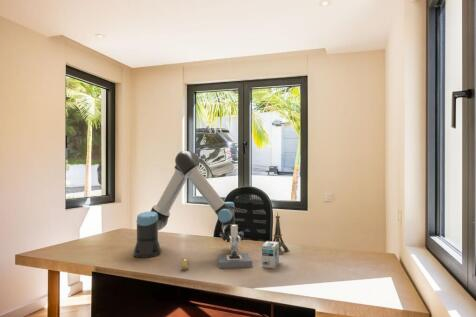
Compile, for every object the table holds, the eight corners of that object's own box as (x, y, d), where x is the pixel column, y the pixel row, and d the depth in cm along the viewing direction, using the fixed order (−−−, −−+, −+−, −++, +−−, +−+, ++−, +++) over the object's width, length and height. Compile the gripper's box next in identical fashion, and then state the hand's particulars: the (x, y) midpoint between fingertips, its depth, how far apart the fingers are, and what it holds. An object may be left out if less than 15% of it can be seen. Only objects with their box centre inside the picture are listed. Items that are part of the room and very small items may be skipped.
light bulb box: (275, 268, 155) (274, 246, 155) (261, 267, 157) (261, 245, 157) (279, 262, 165) (279, 241, 165) (266, 261, 167) (266, 240, 167)
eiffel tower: (281, 255, 178) (281, 210, 178) (265, 252, 184) (265, 209, 184) (290, 251, 186) (290, 208, 187) (274, 248, 192) (274, 207, 193)
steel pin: (231, 257, 161) (231, 225, 162) (230, 255, 165) (230, 224, 165) (238, 257, 162) (238, 225, 162) (237, 255, 165) (237, 224, 166)
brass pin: (181, 271, 152) (180, 260, 152) (181, 268, 155) (181, 258, 156) (188, 270, 152) (188, 260, 152) (188, 268, 156) (188, 258, 156)
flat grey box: (220, 268, 155) (219, 262, 155) (217, 260, 169) (217, 254, 169) (252, 267, 157) (252, 260, 158) (247, 258, 171) (247, 252, 171)
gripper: (244, 237, 182) (252, 248, 159) (215, 238, 180) (219, 249, 157) (244, 224, 183) (251, 233, 159) (215, 225, 180) (218, 234, 157)
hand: (235, 241), depth 158 cm, fingers closed on steel pin, 3 cm apart
